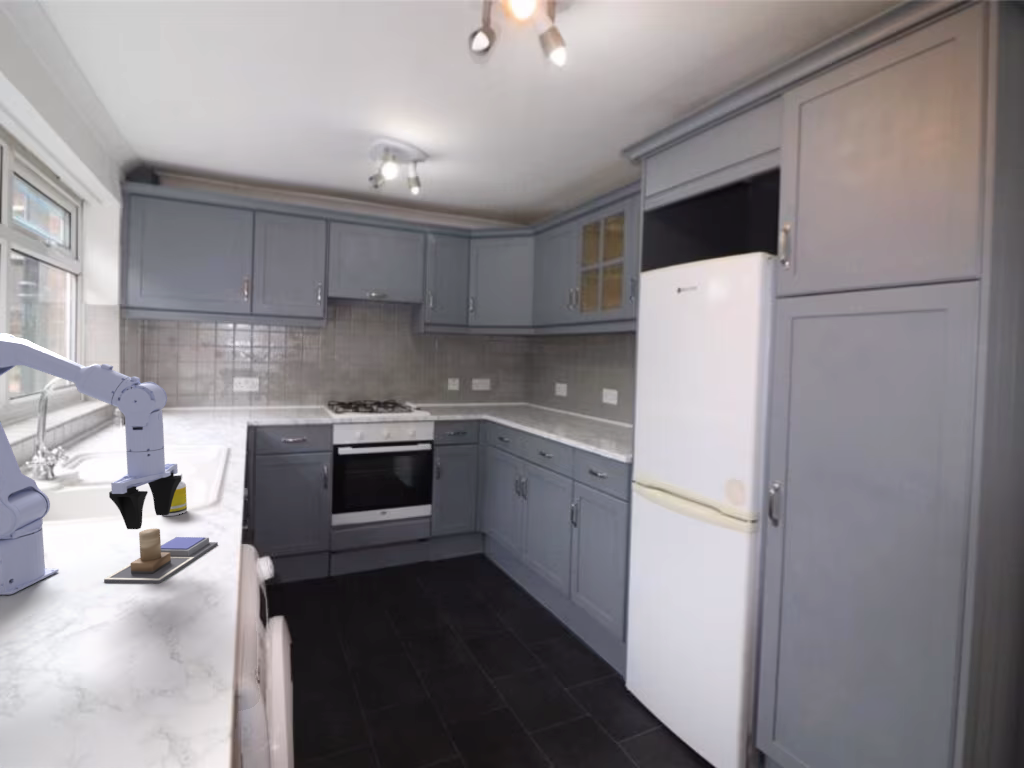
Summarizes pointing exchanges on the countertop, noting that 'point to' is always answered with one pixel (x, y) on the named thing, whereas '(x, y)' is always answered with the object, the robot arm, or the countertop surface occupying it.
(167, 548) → the stamp mat
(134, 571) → the stamp
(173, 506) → the supplement bottle
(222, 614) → the countertop surface
